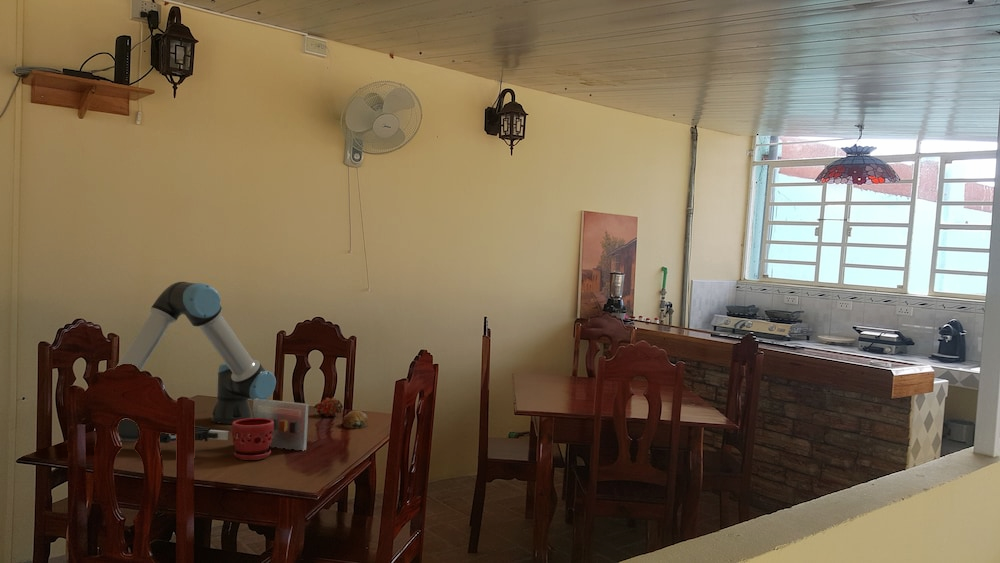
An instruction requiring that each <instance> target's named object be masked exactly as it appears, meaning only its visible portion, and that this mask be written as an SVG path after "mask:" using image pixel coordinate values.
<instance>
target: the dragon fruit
mask: <svg viewBox="0 0 1000 563" xmlns="http://www.w3.org/2000/svg"><path fill="white" fill-rule="evenodd" d="M343 407H344V406H343V404H342V402H341V401H340V400H339V399H336V398H335V397H334V396H333V397H331V398H330V397H325V398H324V399H322V400H321V401H320V402H317V404H315V405H314V406H313V409H316V413H317V414H319V415H321V416H325V417H327V418H328V417H330V416H331V417H335V416H336V414H342V413H343V412H342V409H343Z"/></svg>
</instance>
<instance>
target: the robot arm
mask: <svg viewBox="0 0 1000 563" xmlns="http://www.w3.org/2000/svg"><path fill="white" fill-rule="evenodd" d="M149 309H150V314H149V315H148V317H147V319H146V321H144V323H143V325H142V326H141V328H140V330H139V331H138V333H137V335H136V336H135V337H134V339H133V340H132V342H131V343H130V345H129V346H128V348H127V349H126V351H125V353H124V354H123V356H122V357H121V358H120V360H119V361H118V363H117V364H116V366H115V368H116V367H117V366H119V365H122V364H132V365H135V366H136V367H137V368H138V369H139V370H141V371H142V370H143V368H144V366H145V364H146V363H147V362H148V360H149V358H150V357H151V355H152V354H153V352H154V351H155V349H156V347H157V346H158V345H159V343H160V341H161V340H162V339H163V337H164V335H165V333H166V332H167V330H168V328H170V326H171V324H173V323H176V322H177V320H178V318H180V316H182V315H184V316H185V317H186V318H187V320H188V321H189V323H190V324H191V325H192V326H193V327H197V328H199V329H200V330H201V331H202V333H203V334H204V336H205V337H206V338H207V340H208V341H209V342H210V344H211V346H212V347H213V348H214V349H215V351H216V352H217V353H218V354H219V356H220V358H221V359H222V360H223V362H224V363H221V364H220V365H219V367H218V371H217V394H216V395H217V396H216V403H215V405H214V408H213V409H212V410H213V411H212V412H211V413H212V414H211V417H210V418H211V420H212V421H214V422H213V423H215V422H220V423H233V422H234V421H236V420H240V419H247V418H252V417H253V412H252V408H251V406H250V403H249V400H252V401H253V399H256V398H257V399H266V400H268V399H269V398H271V396H272V395H273V393H274V391H275V390H276V385H277V380H276V376H275V375H274V373H272V372H271V371H270V370H265V368H264V366H263V365H262V364H261V362H260V361H259V360H258V359H253V358H252V357H251V355H250V354H249V353H248V351H247V349H246V348H245V347H244V345H243V344H242V342H241V341H240V339H239V337H238V336H237V335H236V334H235V332H234V331H233V330H232V328H231V326H230V325H229V323H228V322H227V320H226V319H225V318H224V316H223V315H222V311H223V308H222V304H221V296H220V293H219V292H218V290H216V288H214V287H213V286H211V285H210V284H209V285H208V284H205V283H202V282H201V283H199V282H198V283H197V282H189V281H177V282H174V283H172V284H170V285H169V286H168V287H166V289H164V290H163V291H162V292H161V294H159V296H158V297H157V299H155V301H154V303H153V304H152V306H151V307H150V308H149ZM212 421H211V422H212ZM194 426H195V440H194V441H204V442H208V440H215V441H216V440H219V441H229V440H230V437H231V436H230V434H231V431H230V430H221V429H220V430H219V429H212V427H207V426H198V425H194ZM118 432H119V436H120V439H121V440H120V441H129V442H130V441H131V442H138V441H137V439H138V437H139V429H138V426H137V425H136V423H135V422H133V421H131V420H128V419H124V420H121V421H120V423H119V426H118ZM173 441H177V440H176V435H175V434H165V433H161V434H160V443H159V444H169V443H171V442H173Z"/></svg>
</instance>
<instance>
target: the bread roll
mask: <svg viewBox="0 0 1000 563" xmlns="http://www.w3.org/2000/svg"><path fill="white" fill-rule="evenodd" d="M342 421H343V428H346V429H352V428H359V429H363V428H362V427H364V428H366V427H367V426H368V424H369V419H368V415H367V414H366V413H364V412H362V411H360V410H351V411H349V412H348V413H347V414H345V416H344V417H343V420H342ZM365 426H366V427H365Z"/></svg>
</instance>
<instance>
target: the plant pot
mask: <svg viewBox="0 0 1000 563" xmlns="http://www.w3.org/2000/svg"><path fill="white" fill-rule="evenodd" d="M273 431H274V421H273V420H271V419H265V418H247V419H240V420H236V421H234V422H233V423H232V424H231V435H232V436H231V437H232V443H233V447H234V448H235V450H234V451H233V454H234V456H235V457H236V458H237V459H238V458H239V460H243V461H257V460H258V461H259V460H264V459H265V458H267V457H269V456H270V455H271V453H272V451H271V449H270V447H269V446H270V444H271V442H272V438H273ZM262 433H263V435H262Z"/></svg>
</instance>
